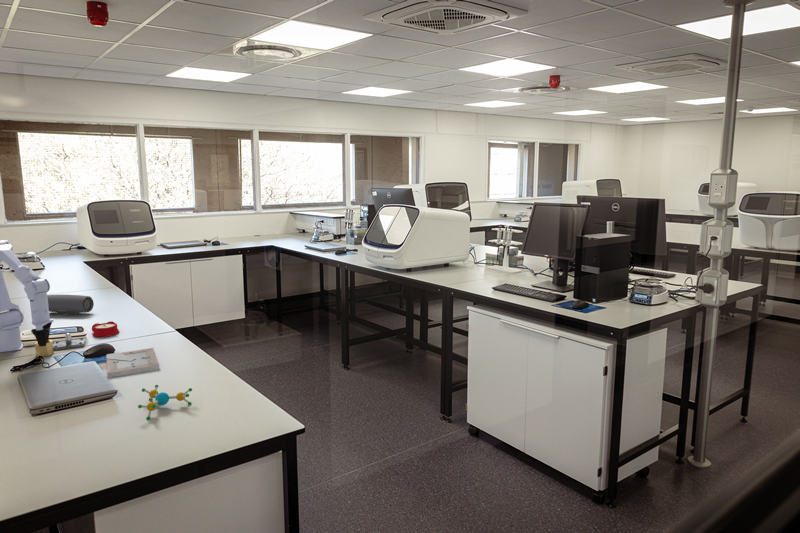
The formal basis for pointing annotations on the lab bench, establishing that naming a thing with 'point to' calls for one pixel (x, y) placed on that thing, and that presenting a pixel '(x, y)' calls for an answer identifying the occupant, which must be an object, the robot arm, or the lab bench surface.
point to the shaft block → (69, 343)
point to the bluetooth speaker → (70, 304)
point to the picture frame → (131, 362)
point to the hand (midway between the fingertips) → (44, 343)
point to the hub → (44, 349)
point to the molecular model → (162, 399)
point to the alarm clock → (105, 329)
